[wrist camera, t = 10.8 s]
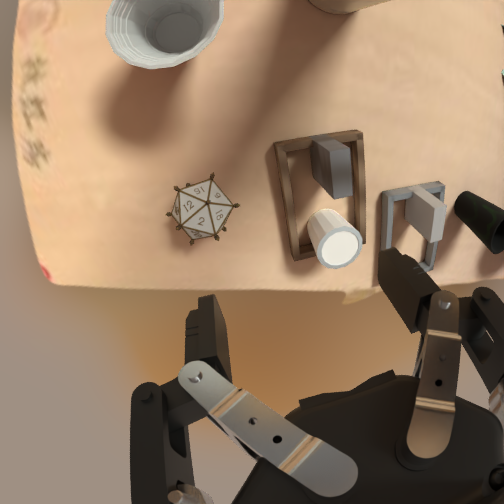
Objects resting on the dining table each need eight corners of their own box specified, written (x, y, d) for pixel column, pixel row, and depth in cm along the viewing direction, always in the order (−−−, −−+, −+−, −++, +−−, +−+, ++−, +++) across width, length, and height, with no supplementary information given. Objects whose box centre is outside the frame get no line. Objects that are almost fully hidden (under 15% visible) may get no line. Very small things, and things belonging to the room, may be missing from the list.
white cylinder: (347, 204, 45) (367, 225, 39) (341, 242, 49) (357, 267, 43) (305, 205, 44) (320, 227, 38) (301, 245, 48) (314, 271, 42)
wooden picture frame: (273, 142, 38) (288, 158, 32) (356, 129, 38) (385, 143, 32) (291, 254, 48) (305, 285, 42) (360, 237, 48) (382, 264, 42)
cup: (466, 224, 51) (503, 256, 41) (445, 217, 49) (484, 252, 39) (480, 191, 47) (521, 219, 37) (459, 181, 45) (503, 211, 35)
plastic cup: (142, -7, 25) (117, -36, 15) (228, -1, 27) (236, -31, 17) (126, 69, 30) (92, 68, 20) (210, 76, 33) (210, 75, 23)
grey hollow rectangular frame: (382, 191, 44) (409, 214, 38) (438, 181, 44) (467, 200, 38) (378, 279, 54) (397, 307, 47) (427, 263, 54) (449, 288, 48)
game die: (214, 193, 45) (246, 246, 42) (161, 213, 42) (188, 270, 39) (216, 149, 37) (254, 206, 34) (153, 170, 35) (182, 234, 31)
